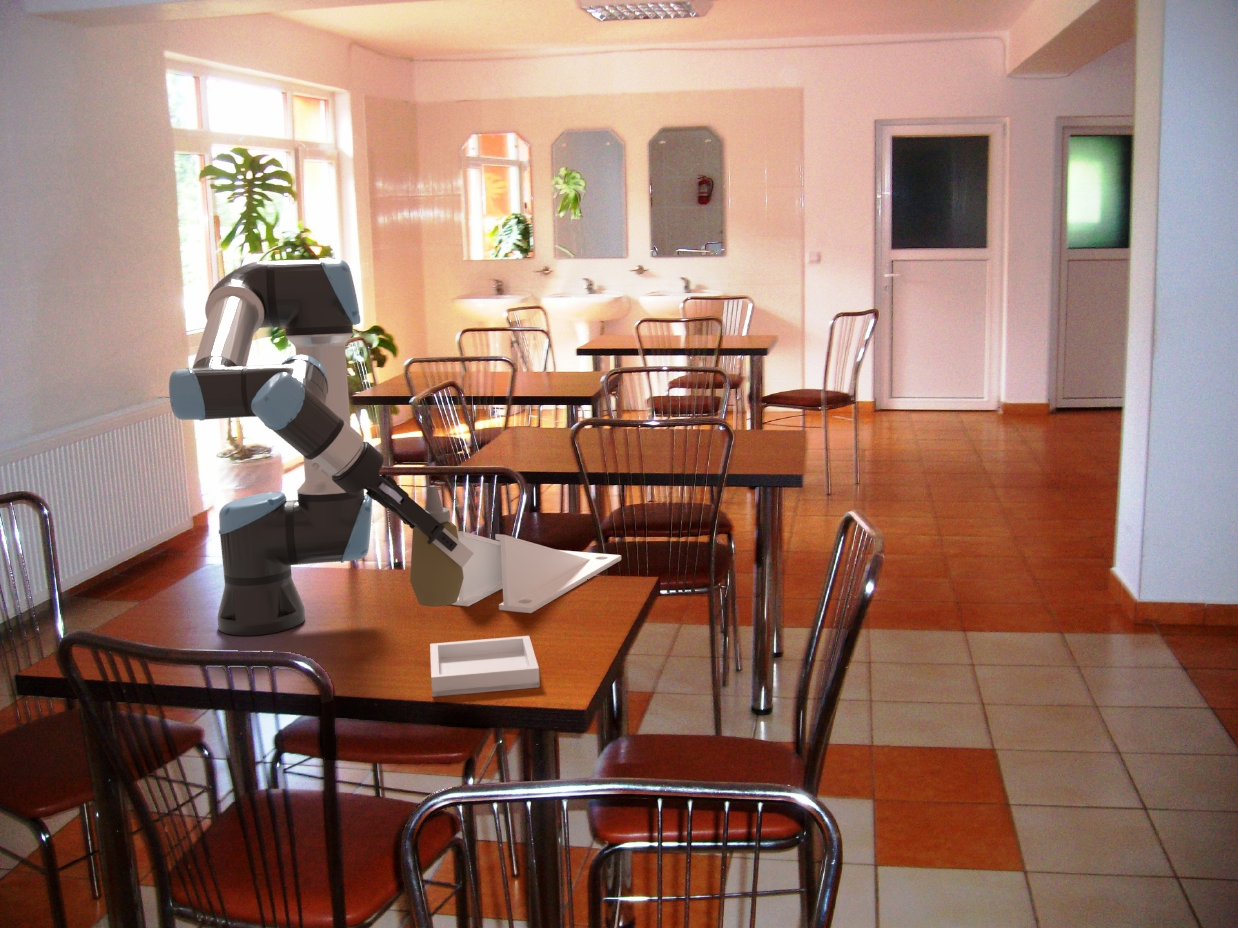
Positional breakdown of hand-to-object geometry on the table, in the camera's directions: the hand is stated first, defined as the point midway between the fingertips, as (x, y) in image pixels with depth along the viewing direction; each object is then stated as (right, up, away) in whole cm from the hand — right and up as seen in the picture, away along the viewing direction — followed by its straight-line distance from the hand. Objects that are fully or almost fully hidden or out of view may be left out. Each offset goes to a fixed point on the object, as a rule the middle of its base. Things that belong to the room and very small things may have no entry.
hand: (459, 555), depth 183 cm
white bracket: (-1, -6, +38) cm, 38 cm away
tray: (+3, -19, +4) cm, 20 cm away
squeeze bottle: (-3, -7, 0) cm, 8 cm away
